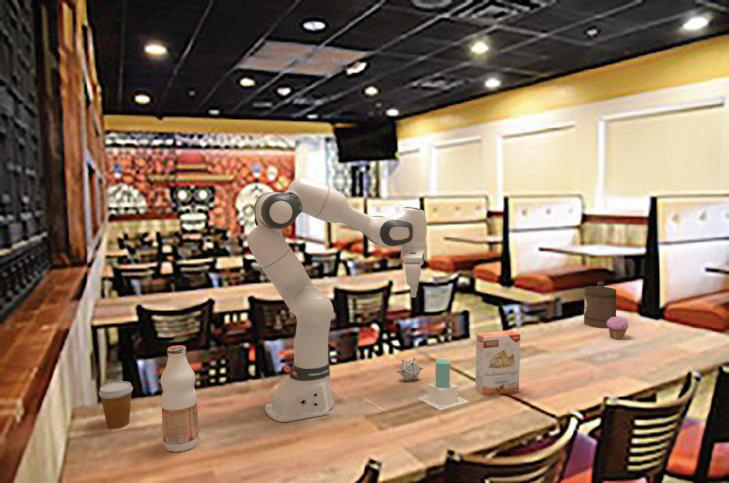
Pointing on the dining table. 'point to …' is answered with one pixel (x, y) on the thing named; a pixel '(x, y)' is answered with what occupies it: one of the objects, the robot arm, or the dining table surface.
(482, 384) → the cracker box
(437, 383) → the teal brick
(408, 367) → the game die
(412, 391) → the dining table surface
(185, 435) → the fruit juice
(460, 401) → the baseplate
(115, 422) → the disposable coffee cup
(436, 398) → the cream brick
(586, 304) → the wooden container
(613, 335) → the cupcake
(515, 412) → the dining table surface
